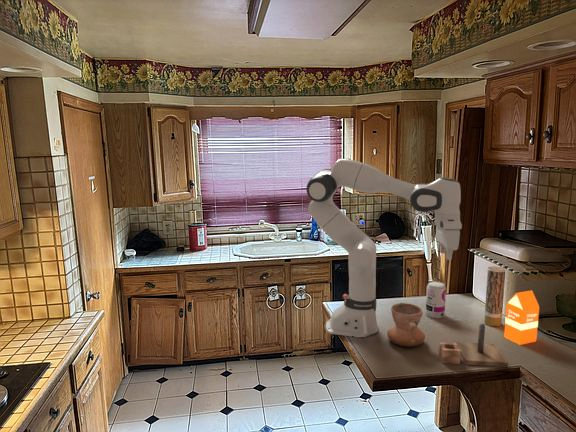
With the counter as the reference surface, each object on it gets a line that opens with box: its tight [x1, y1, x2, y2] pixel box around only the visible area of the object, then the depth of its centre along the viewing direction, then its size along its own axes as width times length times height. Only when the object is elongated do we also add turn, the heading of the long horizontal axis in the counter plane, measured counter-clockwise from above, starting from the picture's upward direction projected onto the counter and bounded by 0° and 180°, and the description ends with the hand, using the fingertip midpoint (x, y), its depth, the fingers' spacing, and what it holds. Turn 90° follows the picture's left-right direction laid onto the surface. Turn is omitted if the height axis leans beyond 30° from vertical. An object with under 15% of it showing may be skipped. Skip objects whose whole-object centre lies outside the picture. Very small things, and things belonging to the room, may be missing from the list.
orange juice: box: [503, 289, 540, 346], centre depth 169 cm, size 8×9×20 cm
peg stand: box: [455, 323, 508, 367], centre depth 157 cm, size 14×14×12 cm
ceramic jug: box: [386, 302, 426, 348], centre depth 169 cm, size 18×14×14 cm
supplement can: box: [425, 281, 447, 319], centre depth 194 cm, size 8×8×15 cm
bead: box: [438, 342, 461, 365], centre depth 155 cm, size 6×6×5 cm
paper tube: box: [483, 266, 506, 327], centre depth 183 cm, size 7×7×25 cm
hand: (445, 256), depth 162 cm, fingers open, 8 cm apart
